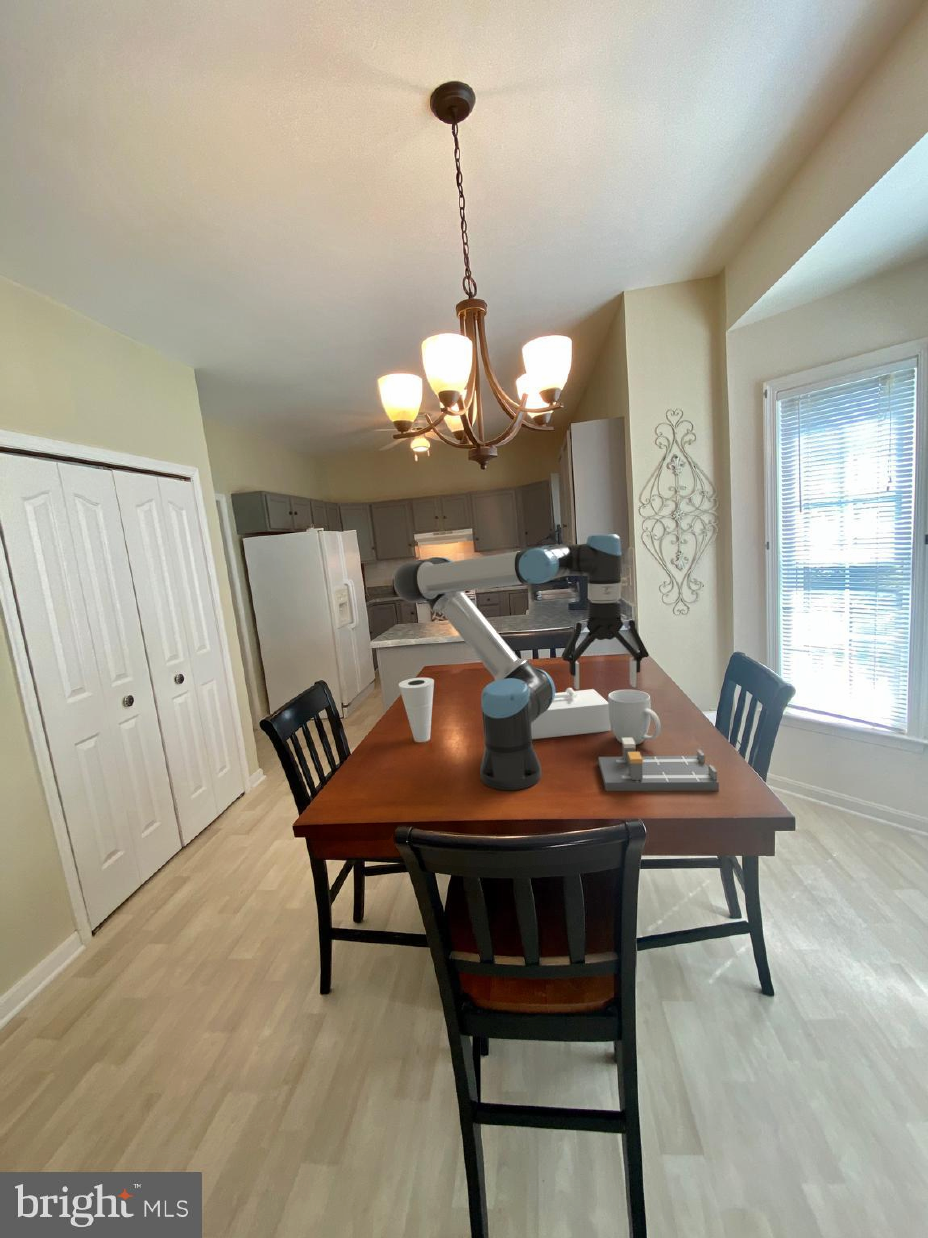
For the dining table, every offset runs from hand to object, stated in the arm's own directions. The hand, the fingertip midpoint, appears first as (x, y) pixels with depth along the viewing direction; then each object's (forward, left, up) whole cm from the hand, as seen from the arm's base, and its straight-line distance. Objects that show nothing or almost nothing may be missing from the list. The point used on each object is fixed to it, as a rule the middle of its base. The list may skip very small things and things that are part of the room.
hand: (604, 686), depth 117 cm
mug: (+9, +15, -21) cm, 27 cm away
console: (+10, -5, -21) cm, 24 cm away
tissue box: (-10, +27, -21) cm, 36 cm away
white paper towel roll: (-53, +19, -21) cm, 60 cm away
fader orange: (+5, -9, -19) cm, 22 cm away
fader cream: (+5, -1, -19) cm, 19 cm away
